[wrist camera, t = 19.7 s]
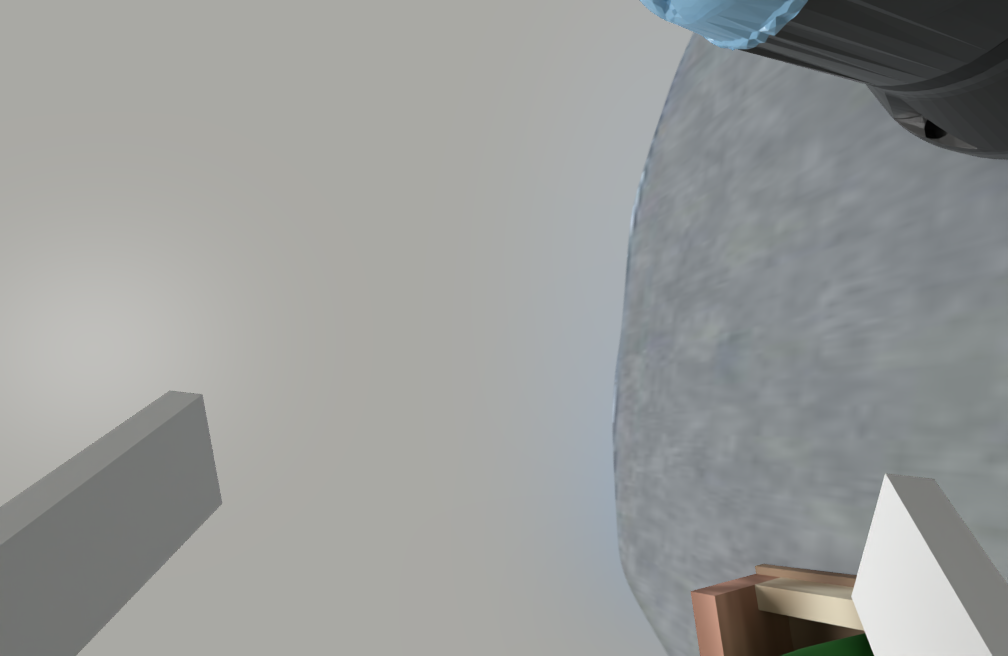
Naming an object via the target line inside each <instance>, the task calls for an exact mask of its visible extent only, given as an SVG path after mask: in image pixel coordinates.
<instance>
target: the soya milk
mask: <svg viewBox="0 0 1008 656" xmlns="http://www.w3.org/2000/svg"><path fill="white" fill-rule="evenodd" d="M781 656H874V654H873V651H872V649H871V646H870V644H869V641H868V638H867V636H866V633H863V634H859V635H855V636H851V637H846V638H842V639H838V640H834V641H830V642H826V643H821V644H817V645H813V646H809V647H805V648H802V649H798V650H795V651H792V652H789V653H786V654H784V655H781Z"/></svg>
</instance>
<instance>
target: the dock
mask: <svg viewBox="0 0 1008 656" xmlns="http://www.w3.org/2000/svg"><path fill="white" fill-rule="evenodd" d="M755 569H756V574H754V575H750V576H747V577H743V578H739V579H735V580H732V581H728V582H724V583H720V584H717V585H713V586H709V587H705V588H702V589H698V590H694V591H691V596H692V603H693V610H694V617H695V623H696V630H697V637H698V644H699V650H700V656H781V655H784V654H786V653H789V652H792V651H795V650H798V649H802V648H805V647H809V646H813V645H817V644H821V643H826V642H830V641H834V640H838V639H842V638H846V637H851V636H855V635H859V634H863V633H865V631H864V628H863V625H862V623H861V620H860V618H859V615H858V613H857V610H856V607H855V605H854V602H853V600H852V597H851V596H852V592H853V589H854V585H855V581H856V578H857V575H849V574H841V573H833V572H824V571H816V570H808V569H800V568H791V567H783V566H775V565H767V564H761V565H757V566H755Z"/></svg>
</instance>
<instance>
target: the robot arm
mask: <svg viewBox="0 0 1008 656" xmlns="http://www.w3.org/2000/svg"><path fill="white" fill-rule="evenodd" d="M640 1H641V3H642V4H643V5H644V6H646V8H648V9H649V10H650V11H651V12H653V13H654V14H656V15H657V16H659V17H660V18H662V19H664V20H666V21H669V22H671V23H674V24H677V25H679V26H681V27H683V28H686V29H688V30H691V31H693V32H695V33H697V34H700V35H702V36H703V37H704V38H705V39H706V40H708V41H709V42H711V43H712V44H714V45H717V46H719V47H720V48H730V49H732V50H735V49H738V50H742V51H746V52H749V53H753V54H757V55H760V56H764V57H768V58H771V59H775V60H779V61H783V62H786V63H790V64H794V65H797V66H801V67H805V68H808V69H812V70H816V71H819V72H823V73H827V74H831V75H834V76H838V77H842V78H845V79H849V80H853V81H856V82H860V83H864V84H866V85H867V87H868V88H869V89H870V90H871V92H872V93H873V94H874V95H875V97H876V98H877V99H878V100H879V102H880V103H881V104H882V106H883V107H884V108H885V109H886V111H887V112H888V113H889V114H890V115H891V116H892V118H893V119H894V120H895V121H897V122H898V123H899V124H900V125H901V126H902V127H903V128H905V129H906V130H908V131H909V132H910V133H912V134H914V135H915V136H917V137H919V138H920V139H922V140H924V141H926V142H928V143H930V144H933V145H936V146H938V147H941V148H944V149H948V150H951V151H956V152H960V153H964V154H968V155H972V156H977V157H982V158H991V159H1006V160H1008V0H640ZM221 504H222V500H221V494H220V489H219V483H218V479H217V473H216V467H215V461H214V456H213V450H212V445H211V439H210V434H209V428H208V423H207V417H206V412H205V406H204V401H203V395H202V394H194V393H186V392H177V391H168V392H167V393H166V394H164V395H163V396H161V397H160V398H158V399H157V400H155V401H154V402H152V403H151V404H149V405H148V406H147V407H145V408H144V409H143V410H141V411H139V412H138V413H136V414H135V415H134V416H132V417H131V418H129V419H128V420H126V421H125V422H123V423H122V424H120V425H119V426H117V427H116V428H115V429H113V430H112V431H110V432H109V433H107V434H106V435H104V436H103V437H101V438H100V439H99V440H97V441H96V442H95V443H93V444H92V445H90V446H88V447H87V448H86V449H84V450H83V451H81V452H80V453H78V454H77V455H75V456H74V457H72V458H71V459H69V460H68V461H67V462H65V463H64V464H62V465H61V466H59V467H58V468H56V469H55V470H54V471H52V472H51V473H49V474H48V475H46V476H45V477H43V478H42V479H41V480H39V481H38V482H36V483H35V484H33V485H32V486H30V487H29V488H27V489H26V490H24V491H23V492H21V493H20V494H19V495H17V496H16V497H14V498H13V499H11V500H10V501H9V502H7V503H5V504H4V505H3V506H1V507H0V656H76V655H77V654H78V653H79V652H80V651H81V650H82V649H83V648H84V647H85V646H86V644H88V642H90V640H91V639H92V638H93V637H94V636H95V635H96V634H97V633H98V632H99V631H100V630H101V629H102V628H103V627H104V626H105V625H106V624H107V623H108V622H109V621H110V620H111V619H112V617H114V616H115V615H116V613H117V612H118V611H119V610H120V609H121V608H122V607H123V606H124V605H125V604H126V603H127V602H128V601H129V600H130V599H131V598H132V597H133V596H134V595H135V593H137V592H138V591H139V590H140V588H141V587H142V586H143V585H144V584H145V583H146V582H147V581H148V580H149V579H150V578H151V577H152V576H153V575H154V574H155V573H156V572H157V571H158V570H159V569H160V568H161V567H162V566H163V565H164V564H165V563H166V561H167V560H168V559H169V558H170V557H171V556H172V555H173V554H174V553H175V552H176V551H177V550H178V549H179V548H180V547H181V546H182V545H183V544H184V543H185V541H187V540H188V539H189V538H190V537H191V535H192V534H193V533H194V532H195V531H196V530H197V529H198V528H199V527H200V526H201V525H202V524H203V523H204V522H205V521H206V520H207V519H208V518H209V517H210V516H211V514H213V513H214V511H216V509H217V508H218V507H219V506H220V505H221ZM851 597H852V600H853V602H854V605H855V607H856V610H857V613H858V615H859V618H860V620H861V623H862V625H863V628H864V631H865V633H866V636H867V638H868V641H869V644H870V646H871V649H872V651H873V654H874V656H1008V585H1007V583H1006V582H1005V580H1004V579H1003V577H1002V576H1001V574H1000V573H999V572H998V570H997V569H996V567H995V566H994V564H993V563H992V562H991V560H990V559H989V557H988V556H987V554H986V553H985V551H984V550H983V549H982V547H981V546H980V544H979V543H978V541H977V540H976V539H975V537H974V536H973V534H972V533H971V531H970V530H969V528H968V527H967V526H966V524H965V523H964V521H963V520H962V518H961V517H960V516H959V514H958V513H957V511H956V510H955V508H954V507H953V505H952V504H951V503H950V501H949V500H948V498H947V497H946V495H945V494H944V493H943V491H942V490H941V488H940V487H939V485H938V484H937V482H936V481H935V480H934V479H929V478H921V477H912V476H903V475H895V474H886V473H885V477H884V480H883V484H882V488H881V491H880V495H879V498H878V502H877V506H876V509H875V513H874V516H873V520H872V524H871V527H870V531H869V534H868V538H867V542H866V545H865V549H864V553H863V556H862V560H861V563H860V567H859V571H858V574H857V578H856V581H855V585H854V589H853V592H852V596H851Z"/></svg>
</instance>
